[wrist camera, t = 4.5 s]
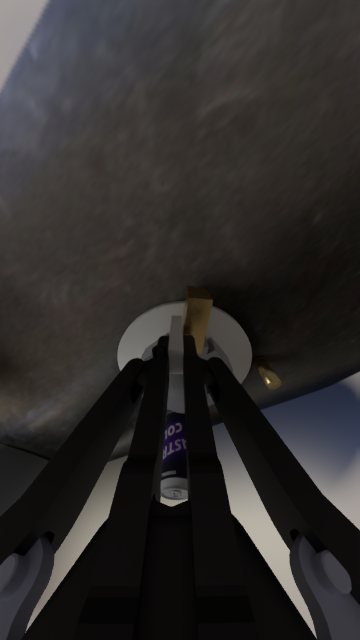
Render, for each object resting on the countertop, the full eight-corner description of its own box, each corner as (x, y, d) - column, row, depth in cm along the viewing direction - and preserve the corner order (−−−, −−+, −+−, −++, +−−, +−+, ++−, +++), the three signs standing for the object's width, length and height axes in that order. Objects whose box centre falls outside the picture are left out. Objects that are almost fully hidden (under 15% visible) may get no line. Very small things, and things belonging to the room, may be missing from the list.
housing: (142, 404, 32) (131, 447, 25) (99, 313, 22) (64, 343, 16) (246, 394, 30) (264, 437, 23) (251, 288, 20) (284, 310, 14)
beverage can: (190, 407, 32) (195, 488, 22) (190, 422, 35) (194, 501, 24) (164, 407, 32) (156, 487, 22) (166, 422, 35) (159, 500, 24)
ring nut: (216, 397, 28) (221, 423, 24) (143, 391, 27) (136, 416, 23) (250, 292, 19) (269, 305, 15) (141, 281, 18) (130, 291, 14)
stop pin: (252, 365, 27) (266, 389, 22) (252, 356, 26) (267, 380, 21) (263, 364, 26) (280, 388, 22) (264, 355, 25) (282, 379, 21)
